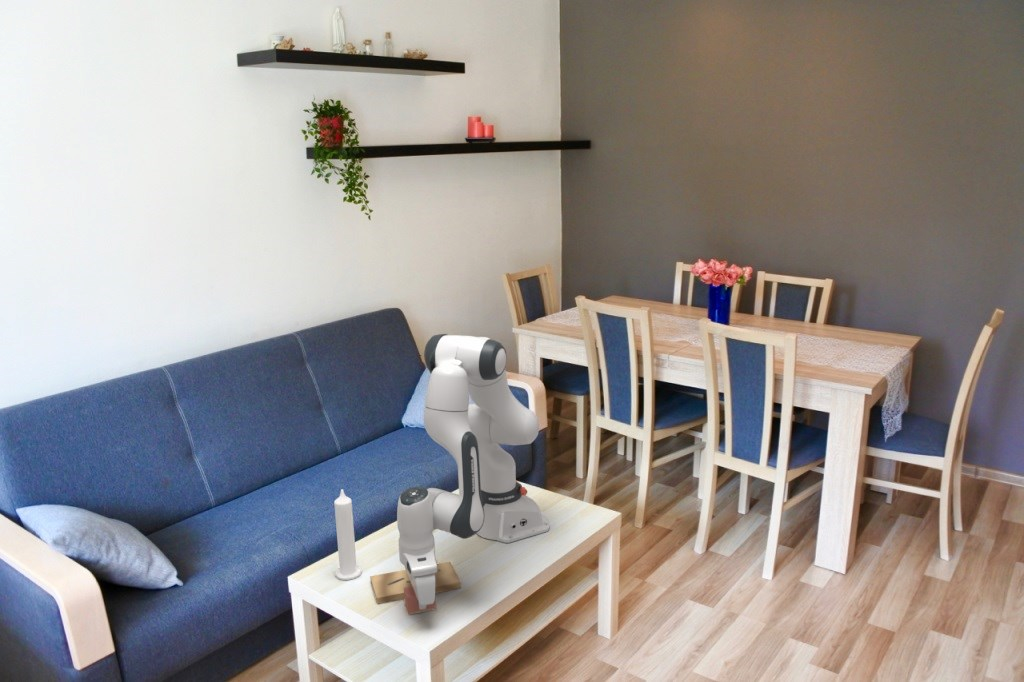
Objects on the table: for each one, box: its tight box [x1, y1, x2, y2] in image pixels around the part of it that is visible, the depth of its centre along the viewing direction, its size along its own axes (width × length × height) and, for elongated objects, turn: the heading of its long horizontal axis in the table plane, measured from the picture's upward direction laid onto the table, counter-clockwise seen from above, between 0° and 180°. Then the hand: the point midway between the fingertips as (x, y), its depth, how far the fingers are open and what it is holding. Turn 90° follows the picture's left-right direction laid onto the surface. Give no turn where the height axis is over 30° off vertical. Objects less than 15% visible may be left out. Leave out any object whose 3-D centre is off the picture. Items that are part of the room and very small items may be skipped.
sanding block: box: [403, 586, 437, 616], centre depth 205 cm, size 7×4×5 cm, turn 108°
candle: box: [333, 488, 363, 581], centre depth 218 cm, size 7×7×25 cm
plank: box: [369, 561, 462, 605], centre depth 215 cm, size 22×11×2 cm, turn 108°
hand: (419, 601), depth 205 cm, fingers closed on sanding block, 4 cm apart
